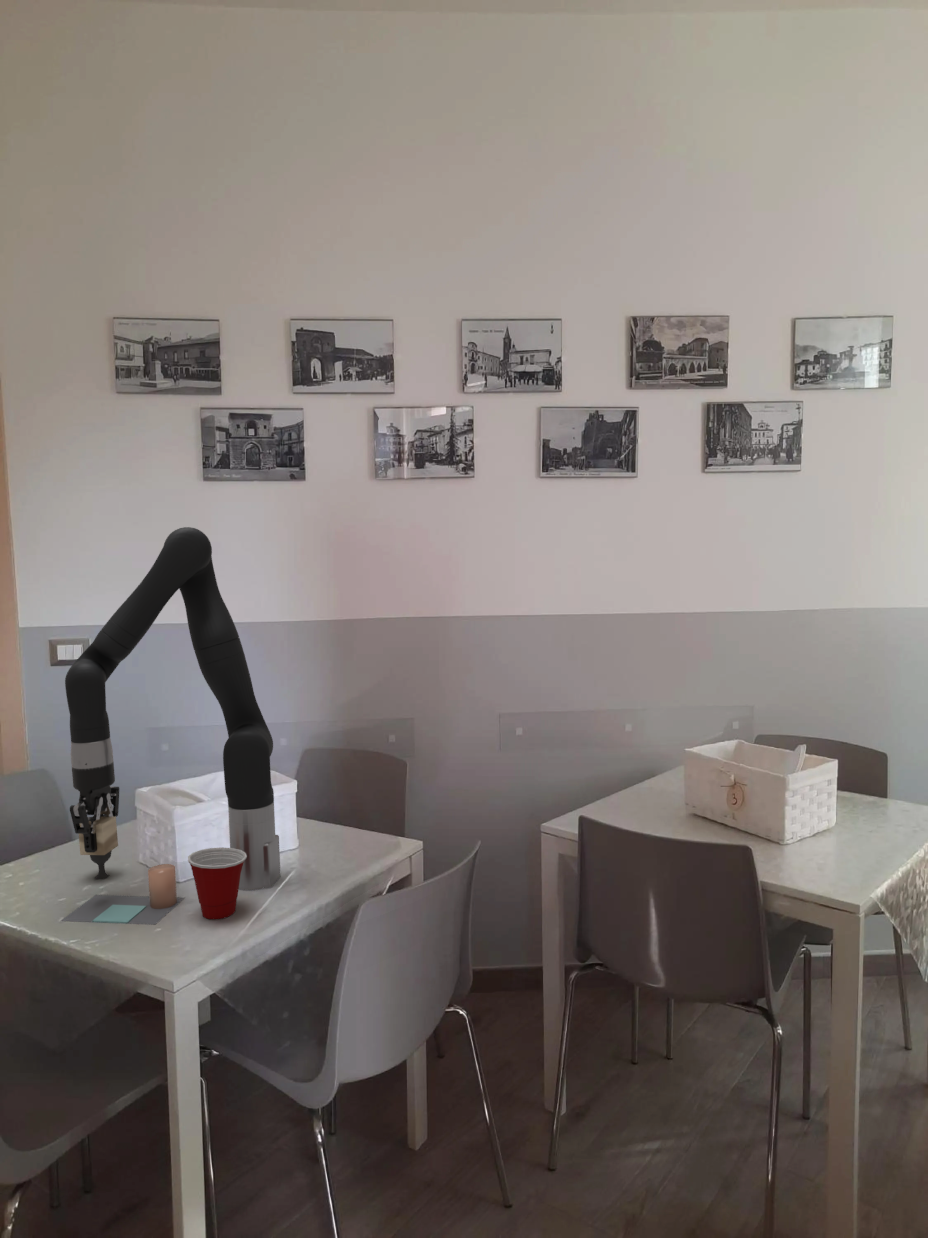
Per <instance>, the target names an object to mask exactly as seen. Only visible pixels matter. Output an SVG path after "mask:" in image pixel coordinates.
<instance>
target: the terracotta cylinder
mask: <svg viewBox="0 0 928 1238" xmlns="http://www.w3.org/2000/svg"><path fill="white" fill-rule="evenodd" d="M147 875H148V876H147V877H148V878H147V879H148V892H149V894H148V895H149V897H150V907H151V908H154V909H163V908H168V907H171V906H173V905H175V904H176V903H177V894H178V893H177V878H176V865H174V864H170V863H161V864H156V865H154V866H150V867H149V869H148V870H147Z"/></svg>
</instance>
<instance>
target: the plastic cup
mask: <svg viewBox="0 0 928 1238" xmlns="http://www.w3.org/2000/svg"><path fill="white" fill-rule="evenodd" d="M246 858H247V855H246V853H245V852H243V851H242V850H238V849H234V848H230V847H209V848H205V849H199V850H196V851H194V852H192V853H191V854H189V855H188V856H187V861H188V863H189V865H190V868H191V871H192V872H191V873H192V877H193V878H194V885H195V890H196V894H197V898H198V903H199V904H200V910H201V914H202V917H203V918H205V919H206V920H223V919H226V918H228V917H230V916H233V915H234V913H235V912H236V908H237V899H238V896H239V882H240V875H241V871H242V866H243V863H244V861H245V860H246Z"/></svg>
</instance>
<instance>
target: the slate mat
mask: <svg viewBox="0 0 928 1238" xmlns="http://www.w3.org/2000/svg"><path fill="white" fill-rule="evenodd" d="M184 899H185V897H181V896H180V897H177V903H176V904H175V905H173V906H171V907H168V908H163V909H154V908H151V907H150V897H149V896H148V895H147V896H146V895H145V896H144V895H124V894H123V895H121V894H120V895H119V894H118V895H117V894H95V895H93V896H92V897H91V898H89V899H88V900H87V901H85V902H84V903H82V904H81V905H80V906H79V907H77V908H76V909H74V910H73V911H72V912H70V913H68V914H67V915H66V916H65V917H63V918H62V919H61V920H60V922H71V923H72V922H74V923H75V922H76V923H93V922H92V920H94V919H95V918H96V917H98V916H99V915H100V914H101V913H103V912H104V911H105V910H107V909H108V908H109V907H110V906H112V905H136V906H146V908H145V909H144V910H143V911H142V912H140V913H139V914H138V915H137V916H136V917H135V918H133V919H132V920H131V921H130V922H129V923H121V925H122V924H125V925H126V924H127V925H147V926H149V925H151V926H152V925H153V926H155V925H157V924H158V923H159V922H160V921H161V920H162V919H163V918H164V917H166V916H167V915H168V914H169V913H171V911H172V910H174V909H175V908H176V907H177V906H178V904H180V903H181V902H182V901H184ZM95 923H101V924H103V923H102V922H95Z"/></svg>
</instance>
